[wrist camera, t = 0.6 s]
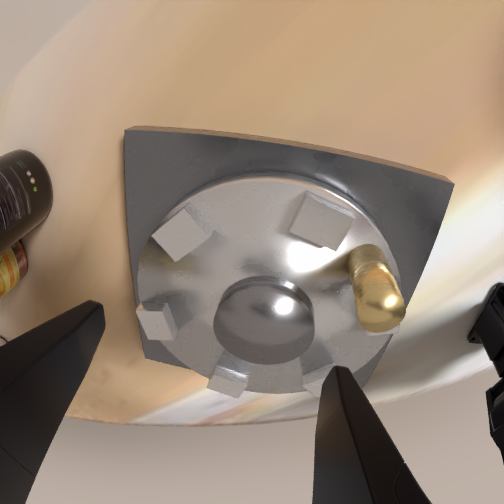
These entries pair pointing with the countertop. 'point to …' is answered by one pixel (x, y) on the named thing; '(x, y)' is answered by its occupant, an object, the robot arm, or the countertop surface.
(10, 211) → the supplement bottle
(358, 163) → the flat gray square plate
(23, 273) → the sauce bottle
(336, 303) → the lugged silver disc
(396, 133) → the countertop surface
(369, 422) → the robot arm
